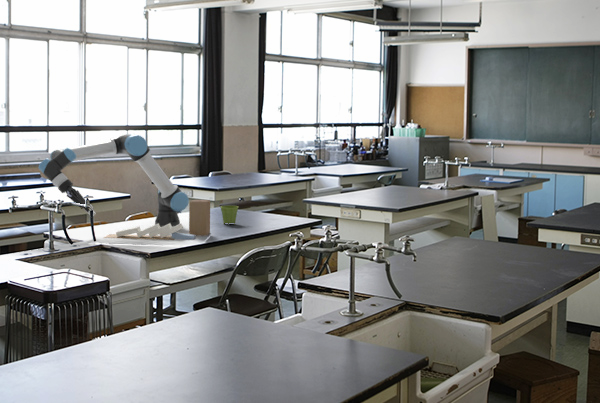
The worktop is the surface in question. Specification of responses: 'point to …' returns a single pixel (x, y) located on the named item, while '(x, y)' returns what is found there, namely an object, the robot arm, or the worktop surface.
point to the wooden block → (199, 217)
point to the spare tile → (128, 231)
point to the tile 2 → (148, 230)
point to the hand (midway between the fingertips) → (93, 215)
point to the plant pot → (229, 213)
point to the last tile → (182, 236)
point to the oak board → (139, 237)
